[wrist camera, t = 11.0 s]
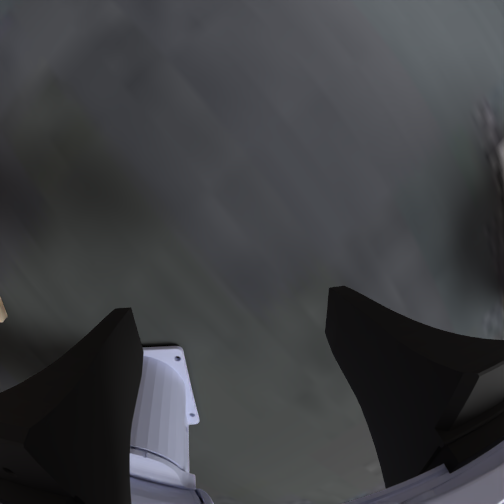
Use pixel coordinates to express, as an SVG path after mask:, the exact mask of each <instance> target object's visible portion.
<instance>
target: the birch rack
mask: <svg viewBox="0 0 504 504" xmlns="http://www.w3.org/2000/svg"><path fill="white" fill-rule="evenodd" d="M7 316H8V315H7V313H6V310H5V308H4V305H3V302H2V300H1V297H0V322H3V321H4V320H5V319H6V318H7Z"/></svg>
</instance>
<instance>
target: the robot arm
mask: <svg viewBox="0 0 504 504" xmlns="http://www.w3.org/2000/svg"><path fill="white" fill-rule="evenodd" d="M325 334H326V337H327V339H328V342H329V345H330V348H331V350H332V353H333V355H334V357H335V359H336V361H337V362H338V364H339V366H340V368H341V370H342V372H343V374H344V375H345V377H346V379H347V381H348V383H349V384H350V386H351V388H352V390H353V392H354V394H355V395H356V397H357V400H358V402H359V404H360V406H361V408H362V411H363V414H364V416H365V419H366V422H367V424H368V427H369V430H370V433H371V436H372V439H373V442H374V445H375V448H376V452H377V455H378V458H379V462H380V466H381V469H382V474H383V478H384V482H385V487H386V489H384V490H381V491H379V492H376V493H373V494H370V495H367V496H364V497H361V498H358V499H355V500H351V501H348V502H345V503H341V504H504V340H492V339H482V338H475V337H469V336H464V335H459V334H455V333H451V332H447V331H443V330H440V329H437V328H433V327H430V326H428V325H425V324H422V323H419V322H417V321H414V320H412V319H409V318H407V317H405V316H403V315H401V314H399V313H396V312H394V311H392V310H390V309H388V308H386V307H384V306H382V305H381V304H379V303H377V302H375V301H373V300H371V299H369V298H368V297H366V296H364V295H362V294H360V293H358V292H356V291H354V290H353V289H350V288H348V287H346V286H339V287H332V288H329V296H328V307H327V318H326V328H325ZM176 356H179V357H180V358H176ZM192 413H193V414H192ZM197 423H199V415H198V412H197V408H196V404H195V400H194V396H193V391H192V387H191V383H190V379H189V374H188V370H187V365H186V361H185V356H184V352H183V349H182V348H181V347H179V346H163V347H142V344H141V341H140V338H139V334H138V331H137V327H136V324H135V320H134V317H133V313H132V309H131V308H117V309H115V310H113V311H112V312H111V313H110V314H109V315H107V316H106V317H105V318H104V319H103V320H102V321H101V322H100V323H99V324H98V325H97V326H96V327H95V328H94V329H93V330H91V331H90V332H89V333H88V334H87V335H86V336H85V337H84V338H83V339H82V340H81V341H79V342H78V343H77V344H76V345H75V346H74V347H73V348H71V349H70V350H69V351H68V352H67V353H66V354H64V355H63V356H62V357H61V358H59V359H58V360H57V361H55V362H54V363H52V364H51V365H50V366H48V367H47V368H45V369H44V370H42V371H41V372H39V373H37V374H36V375H34V376H32V377H31V378H29V379H27V380H26V381H24V382H22V383H20V384H18V385H16V386H14V387H12V388H10V389H8V390H6V391H3V392H1V393H0V504H214V503H213V501H212V499H211V498H210V496H209V495H208V493H207V492H206V491H204V490H202V489H198V488H196V484H195V475H194V474H191V473H189V424H197Z"/></svg>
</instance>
